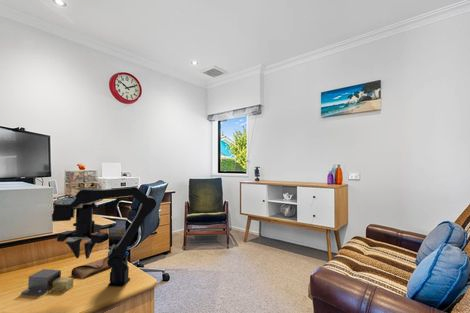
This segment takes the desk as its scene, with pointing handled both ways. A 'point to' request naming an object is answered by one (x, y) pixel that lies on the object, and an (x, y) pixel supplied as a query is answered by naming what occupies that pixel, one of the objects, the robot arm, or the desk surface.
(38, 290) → the flanged grey block
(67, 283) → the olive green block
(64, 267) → the desk surface
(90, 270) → the sunglasses case
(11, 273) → the desk surface
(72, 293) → the desk surface
